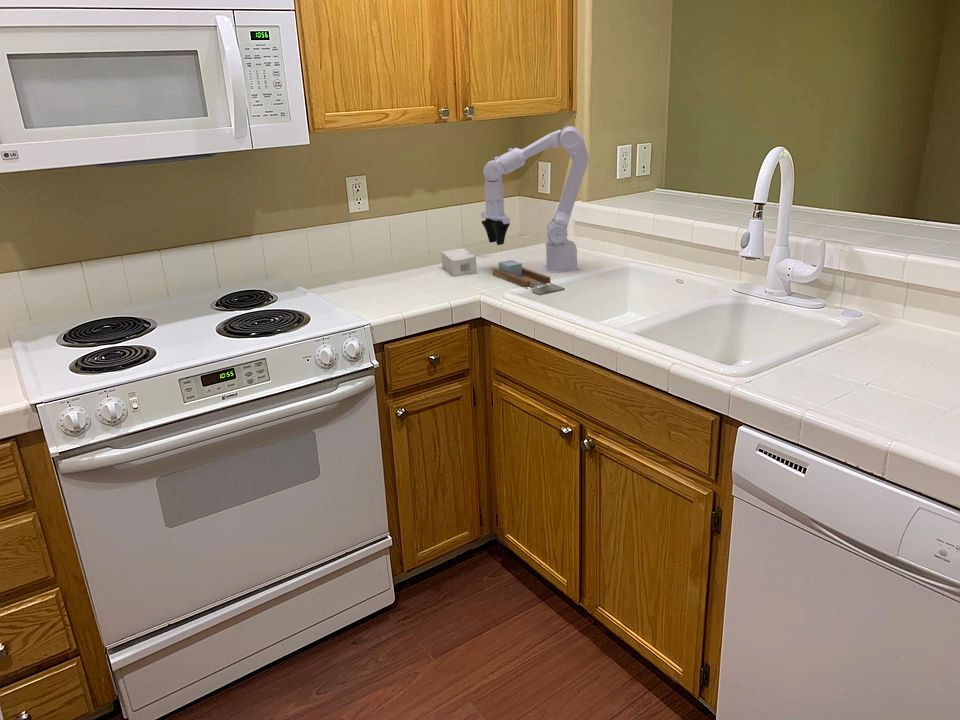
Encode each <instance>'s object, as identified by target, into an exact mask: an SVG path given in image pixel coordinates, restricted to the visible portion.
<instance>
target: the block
mask: <svg viewBox="0 0 960 720" xmlns="http://www.w3.org/2000/svg"><path fill="white" fill-rule="evenodd" d="M522 267H523V263H521V262H518V261H515V260H512V259H510V260H505V261H499V262H498V270H501V271H504V272H506V273H509V274H512V275H514V276H517V277H519V276H522Z"/></svg>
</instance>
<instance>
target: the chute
mask: <svg viewBox="0 0 960 720" xmlns="http://www.w3.org/2000/svg"><path fill="white" fill-rule="evenodd" d="M492 276H493V277H495V278H499V279H501V280H504V281H506V282H509V283H511V284H514V285H516V286H519V287H522V288H524V287H526V288H525V289H527V287H530V285H533V284H539V283H544V284H545V283H550V284H551V285H547V286H543V287H540V288H537V287H536V288H535V287H534V288H535V289H532V290H529V291H530V292H531V293H533V294H535V295H537V296H543V295H547V294H551V293H556V292H560V291H565V290H566V288H565V287H562V286H560V285H556V284H553V283H551V276H549V275H548V276H547V275H545V274H542V273H539V272H536V271H533V270H531V269H528V268H527V267H526V268H525V267H523V266H522V276H519V277H517V276H514V275H512V274H509V273H506V272H504V271H501V270H499V268H492ZM533 286H534V285H533Z"/></svg>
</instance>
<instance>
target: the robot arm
mask: <svg viewBox="0 0 960 720" xmlns="http://www.w3.org/2000/svg"><path fill="white" fill-rule="evenodd" d="M560 146H561V148H562V149H564V150H565V151H566V152H567V153H568V155H569V157H570V159H571V161H572V163H571V166H570V169H569V172H568V175H567V178H566V181H565V184H564V187H563V190H562V194H561V196H560V199H559V202H558V206H557V207H556V211H555V212H554V216H553V218H552V220H550V222H549V223H548V224H547V230H546V231H547V232H546V237H547V240H546V241H545V251H546V252H545V255H546V257H545V258H546V261H545V262H546V266H543V267H541V270H544V271H548V272H550V273H552V274H558V273H562V272H568V271H569V272H570V271H573V270H579V267H578V249H577V245H576V243H575V242H574V241H573V240H569V239H568V225H569V222H570V219H571V215H572V212H573V209H574V207H575V202H576V199H577V197H578V194H579V191H580V187H581V185H582V183H583V179H584V176H585V173H586V170H587V168H588V164H589V161H590V160H589V159H590V157H589V155H588V154H589V153H588V150H587V147H586V143H585V140H584V137H583V136H582V134H581V133H580V131H579V130H578V128H576V127H575V126H571V125H567V126H565V127H563V128H562V129H558V130H555V131H553V132H551V133H550V132H549V133H548V134H546V135H545V136H543V137H541V138H539V139H538V140H536V141H534V142H532V143H531V144H529V145H528V146H525V147H524V148H522V149H521V148H519V147H514V148H512V147H511V148H509V149H508V150H507V152H505V153H503V154H501V155H500V156H495V157H494V159H493V160H489V161H488V162H487V163H486V164H485V165H484V167H483V171H482V172H483V177H484V197H485V211H481V213H480V214H481V219H484V220H481V224H482V226H483V227H484V229H485V232H486V235H487V239H488V241H489V243H491V244H492V243H495V242H496V245H497V246H502V245H504V244H505V238H506V235H507V231H508V229H509V226H510V225H511V219H510V218H511V217H510V216H508V215H507V214H506V213H505V203H504V201H505V200H504V185H503V177H502V176H503V175H508V174H510V173H512V172H513V171H515V170H517V169H520V168H521V167H523V166H524V165H525V164H526V160H528V159H529V158H531V157H532V156H535V155H537V154H539V153H541V152H543V151H545V150H547V149H550V148H553V149H560Z"/></svg>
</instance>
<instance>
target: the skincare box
mask: <svg viewBox="0 0 960 720" xmlns="http://www.w3.org/2000/svg"><path fill="white" fill-rule="evenodd" d="M440 253H441V267H442V269H444V270H445V271H447V272H448V273H449V274H450V275H451V276H453V277H460V276H466V275H474V274H478V266H477V258H476V257H477V256H476V255H474V254H473V253H471V252H470V251H469V250H467V249H465V248H464V247H463V248H462V247H461V248H454V249H448V250H447V249H446V250H442V251H441V252H440Z"/></svg>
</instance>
